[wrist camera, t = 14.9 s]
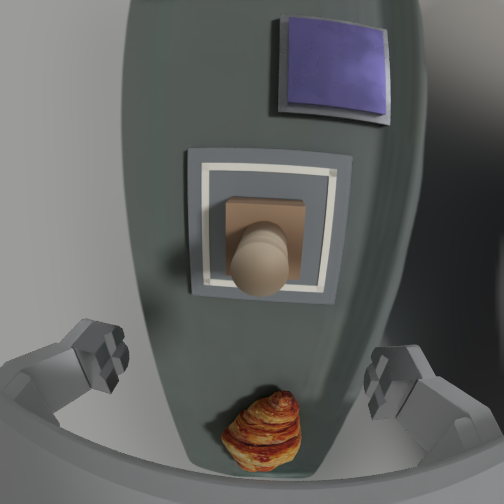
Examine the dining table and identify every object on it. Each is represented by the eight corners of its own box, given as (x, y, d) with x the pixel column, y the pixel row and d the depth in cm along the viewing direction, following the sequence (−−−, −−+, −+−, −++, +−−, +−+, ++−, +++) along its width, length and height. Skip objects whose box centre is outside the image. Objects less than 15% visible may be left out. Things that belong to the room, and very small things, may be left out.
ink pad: (280, 18, 17) (280, 10, 16) (383, 33, 17) (389, 26, 15) (278, 112, 20) (278, 110, 19) (386, 125, 20) (393, 124, 18)
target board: (189, 148, 22) (187, 148, 21) (350, 155, 21) (352, 156, 20) (193, 291, 26) (191, 295, 26) (333, 301, 25) (334, 304, 25)
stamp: (232, 196, 22) (208, 219, 15) (302, 199, 22) (314, 225, 14) (231, 260, 24) (211, 309, 17) (297, 264, 24) (304, 316, 16)
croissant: (265, 444, 40) (285, 480, 33) (209, 457, 36) (226, 498, 29) (306, 364, 32) (342, 411, 25) (227, 378, 28) (257, 439, 21)
